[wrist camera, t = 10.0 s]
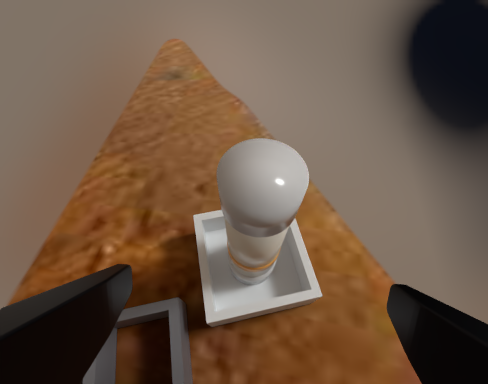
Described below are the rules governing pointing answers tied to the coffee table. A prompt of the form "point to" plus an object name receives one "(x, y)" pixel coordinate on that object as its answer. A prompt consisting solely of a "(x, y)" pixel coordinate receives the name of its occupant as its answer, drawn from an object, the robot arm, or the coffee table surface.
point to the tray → (251, 296)
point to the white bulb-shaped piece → (259, 203)
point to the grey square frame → (103, 368)
